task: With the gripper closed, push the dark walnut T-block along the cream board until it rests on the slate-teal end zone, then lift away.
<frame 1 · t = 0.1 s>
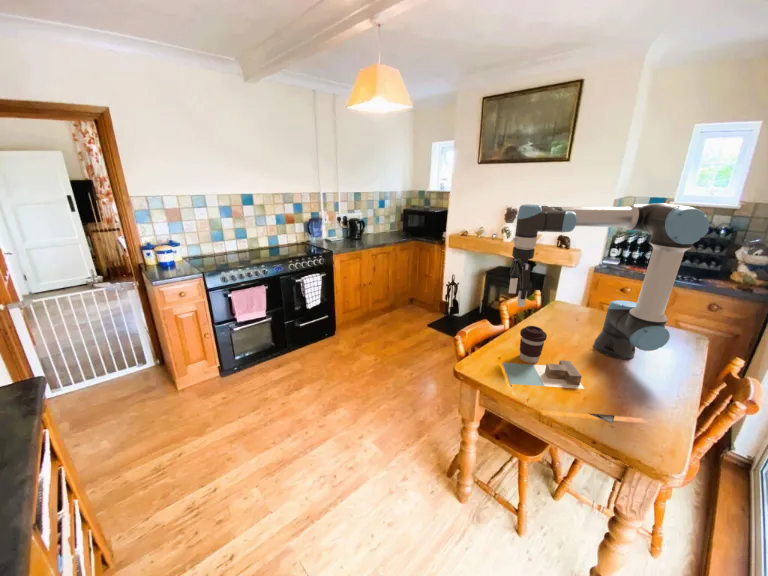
hand: (516, 299, 128), 28 cm above the table, fingers open, 13 cm apart
coffee cup: (528, 361, 137), on the table
t block: (560, 376, 125), point 1 cm above the table, touching board
smartphone: (602, 407, 111), on the table
board: (540, 377, 126), on the table
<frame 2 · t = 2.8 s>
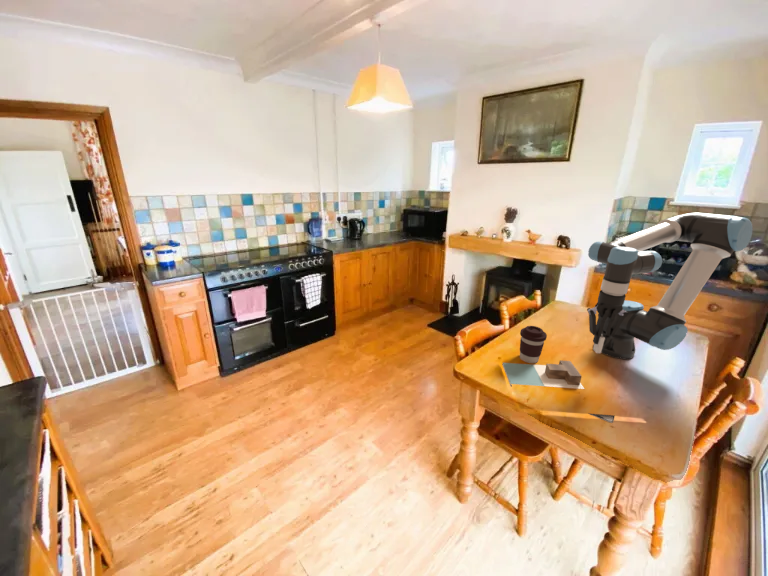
hand: (596, 351, 119), 13 cm above the table, fingers closed
nothing on the table moved.
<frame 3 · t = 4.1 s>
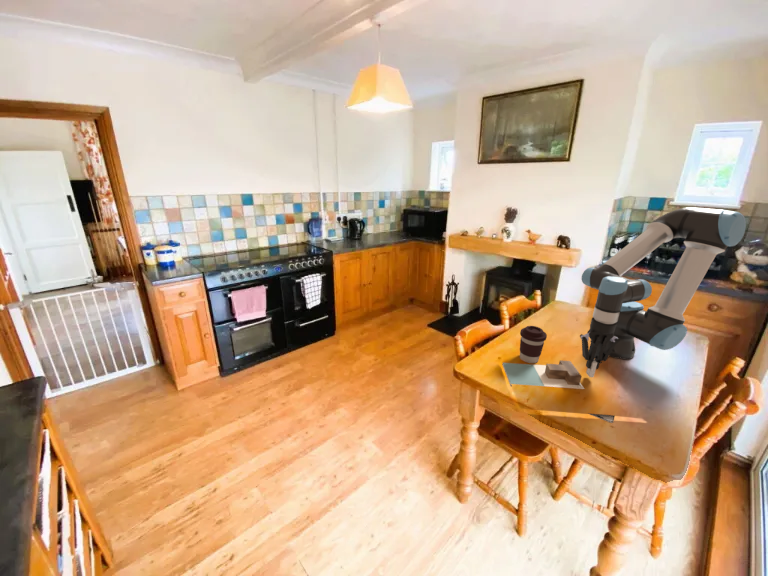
hand: (589, 375, 123), 3 cm above the table, fingers closed
nothing on the table moved.
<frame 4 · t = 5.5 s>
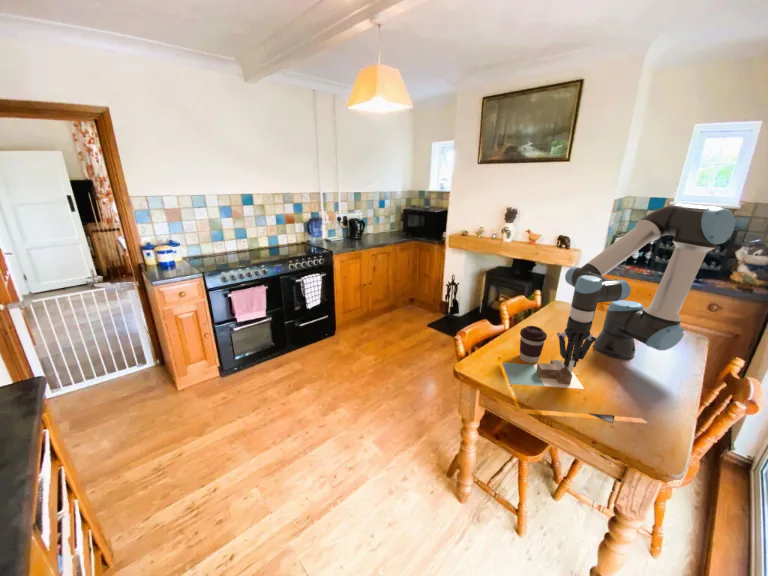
hand: (567, 373, 124), 3 cm above the table, fingers closed
t block: (551, 375, 126), point 1 cm above the table
everything else where it was.
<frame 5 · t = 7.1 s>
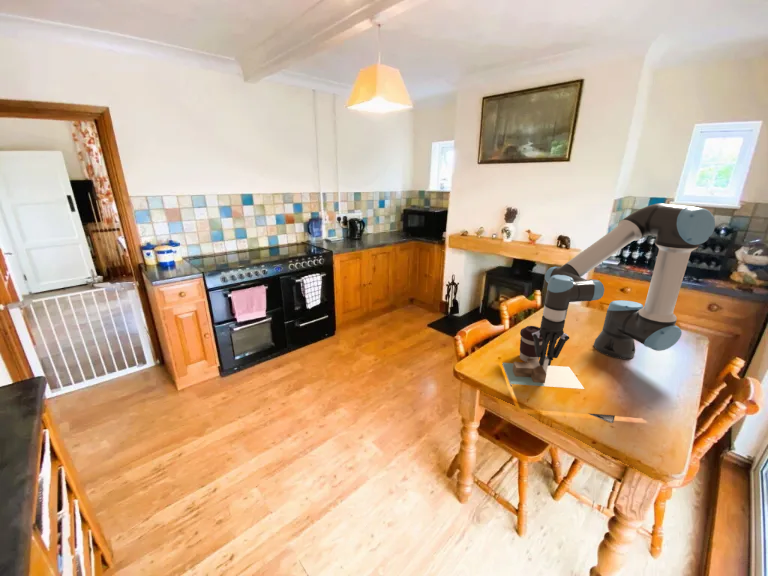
hand: (542, 371, 125), 3 cm above the table, fingers closed
t block: (527, 374, 127), point 1 cm above the table, touching board, gripper
everything else where it was.
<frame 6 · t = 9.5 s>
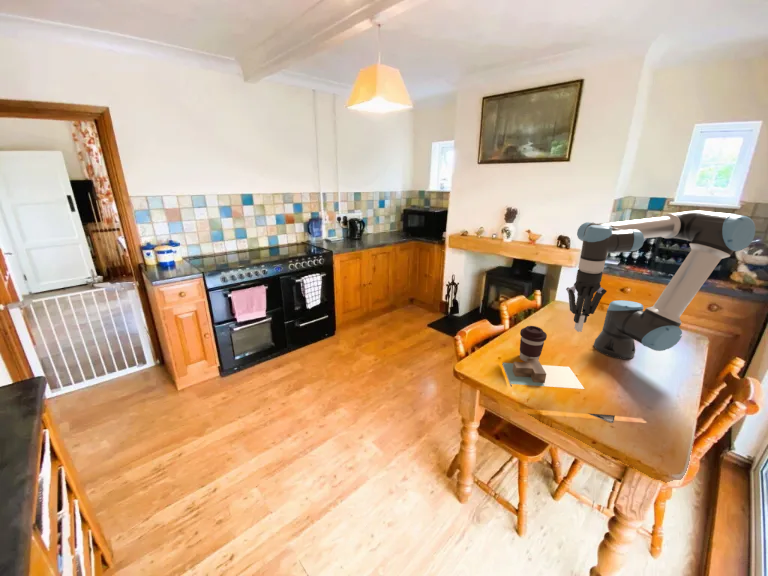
hand: (577, 329, 121), 20 cm above the table, fingers closed
t block: (526, 374, 127), point 1 cm above the table, touching board
everything else where it was.
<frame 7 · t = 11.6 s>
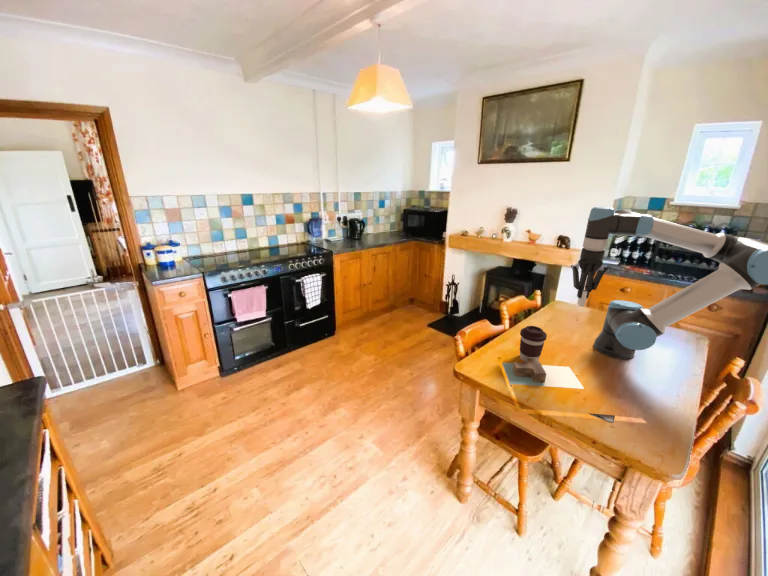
hand: (580, 305, 131), 24 cm above the table, fingers closed
nothing on the table moved.
at the end: t block inside the target area (2.5 cm from its centre), point 1.2 cm above the table; t block tilted 0° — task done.
